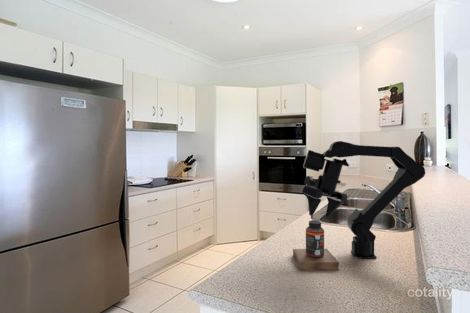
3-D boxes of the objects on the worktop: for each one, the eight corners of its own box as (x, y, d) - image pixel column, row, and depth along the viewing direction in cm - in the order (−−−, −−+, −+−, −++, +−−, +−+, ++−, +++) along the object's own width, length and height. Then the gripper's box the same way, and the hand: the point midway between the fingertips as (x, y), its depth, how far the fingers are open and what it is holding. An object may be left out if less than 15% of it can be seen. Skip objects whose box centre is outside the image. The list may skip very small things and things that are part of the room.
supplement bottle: (323, 259, 91) (323, 224, 90) (304, 257, 93) (304, 223, 93) (325, 253, 96) (325, 220, 96) (307, 250, 99) (307, 218, 98)
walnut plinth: (326, 255, 101) (326, 248, 101) (338, 270, 89) (338, 262, 89) (293, 255, 101) (293, 248, 101) (300, 270, 89) (300, 262, 89)
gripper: (329, 173, 113) (318, 210, 115) (297, 166, 103) (285, 206, 104) (353, 180, 104) (341, 220, 105) (320, 173, 94) (308, 218, 95)
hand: (319, 216), depth 103 cm, fingers open, 9 cm apart
